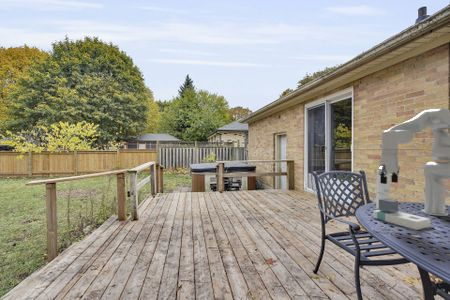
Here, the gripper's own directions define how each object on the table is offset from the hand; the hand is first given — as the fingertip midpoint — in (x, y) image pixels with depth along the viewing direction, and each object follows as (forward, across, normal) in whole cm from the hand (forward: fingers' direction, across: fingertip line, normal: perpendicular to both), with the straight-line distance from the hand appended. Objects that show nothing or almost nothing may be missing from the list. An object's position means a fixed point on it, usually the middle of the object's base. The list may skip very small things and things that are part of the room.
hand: (389, 183), depth 139 cm
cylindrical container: (+21, -17, -15) cm, 31 cm away
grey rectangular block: (+20, +1, 0) cm, 20 cm away
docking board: (+20, +1, +6) cm, 21 cm away
